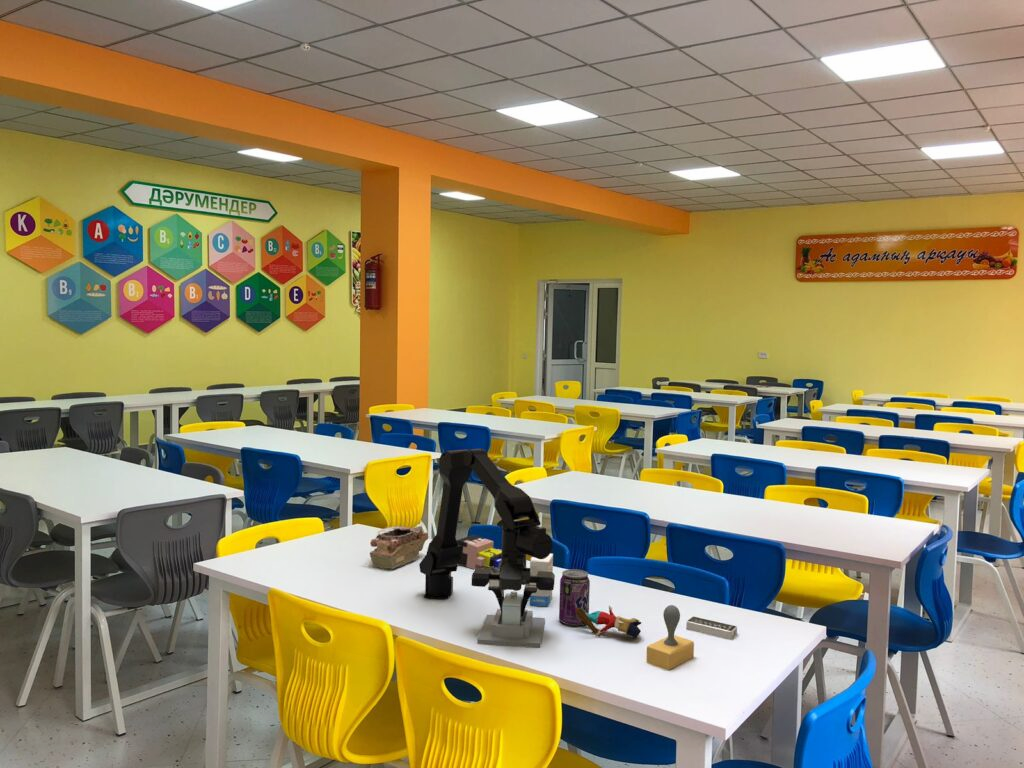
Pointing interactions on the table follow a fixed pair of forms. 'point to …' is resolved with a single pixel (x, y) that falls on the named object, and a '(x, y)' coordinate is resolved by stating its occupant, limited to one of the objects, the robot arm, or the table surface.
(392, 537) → the decorative box
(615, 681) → the table surface
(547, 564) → the ink box
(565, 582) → the beverage can
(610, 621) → the toy
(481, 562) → the toy
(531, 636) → the grey socket base
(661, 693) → the table surface
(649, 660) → the rubber stamp
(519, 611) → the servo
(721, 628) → the multiport hub
